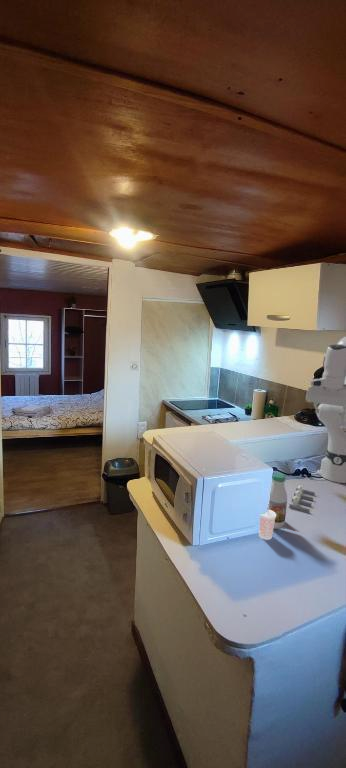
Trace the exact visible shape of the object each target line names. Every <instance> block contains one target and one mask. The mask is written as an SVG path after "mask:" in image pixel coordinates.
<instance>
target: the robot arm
mask: <svg viewBox="0 0 346 768" xmlns="http://www.w3.org/2000/svg"><path fill="white" fill-rule="evenodd" d="M322 367H323V369H324V371H323V372H322V375H321V376H322V377H320V378H314V379H311V381H310V385H309V386H308V388H307V390H306V395H305V401H306V402H307V403H313V406H314V408H315V410H314V411H315V414H316V416H317V418H318V420H319V421H320V422H321V423H322V424H323V425H324V426H325V429H326V432H327V436H328V437H327V442H328V443H327V449H326V450H325V457H323V458H322V459H321V465H320V468H321V469H320V468H319V469H320V470H319V469H317V471H316V472H315V473H316V475H319V476H321V477H322V478H323V479H326V480H327V481H330V482H333V483H334V482H335V483H339V484H346V431H344V429H342V426H343V427H346V336H344V337H342V338H341V339H339V341H338V342H337V343H336V344H331V345H329V346H328V347H327V349H326V351H325V355H324V357H323V362H322Z"/></svg>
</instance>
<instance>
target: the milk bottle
mask: <svg viewBox="0 0 346 768" xmlns="http://www.w3.org/2000/svg"><path fill="white" fill-rule="evenodd" d="M271 480H272V483H271V486H270V487H271V493H270V502H269V510H272V511H274V512H275V513H276V518H275V522H274V528H273V530H274V529H275V530H280V529H283V528H284V526H285V523H286V516H287V504H288V494H287V491H286V487H285V482H286V476H285V475H284V474H282V473H278V472H277V473H273V475H272V479H271Z"/></svg>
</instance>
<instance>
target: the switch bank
mask: <svg viewBox="0 0 346 768" xmlns="http://www.w3.org/2000/svg"><path fill="white" fill-rule="evenodd" d="M297 490H298V487H296V490H295V492H294V494H293V497H291V503H292V504H291V503H289V506H288V508H289V509H293V510H295V511H300V512H303V513H304V512H305V513H308V514H310V512H311V511H312V508H311V507H312V502H313V501H314V500H315V497H316V496H315V494H316V492H315V491H312V490H311V491H310V490H308V489H304V488H303V494H302V495H301V499H304V500H301V499H300V500H299V503H298V506H296V505H293V498H294V496H295V493H296V491H297ZM306 494H307V495H306ZM309 495H310V496H309ZM306 500H308V501H306ZM309 501H311V502H309ZM299 505H302V506H299ZM303 506H305V507H303ZM307 507H308V508H307Z"/></svg>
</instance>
